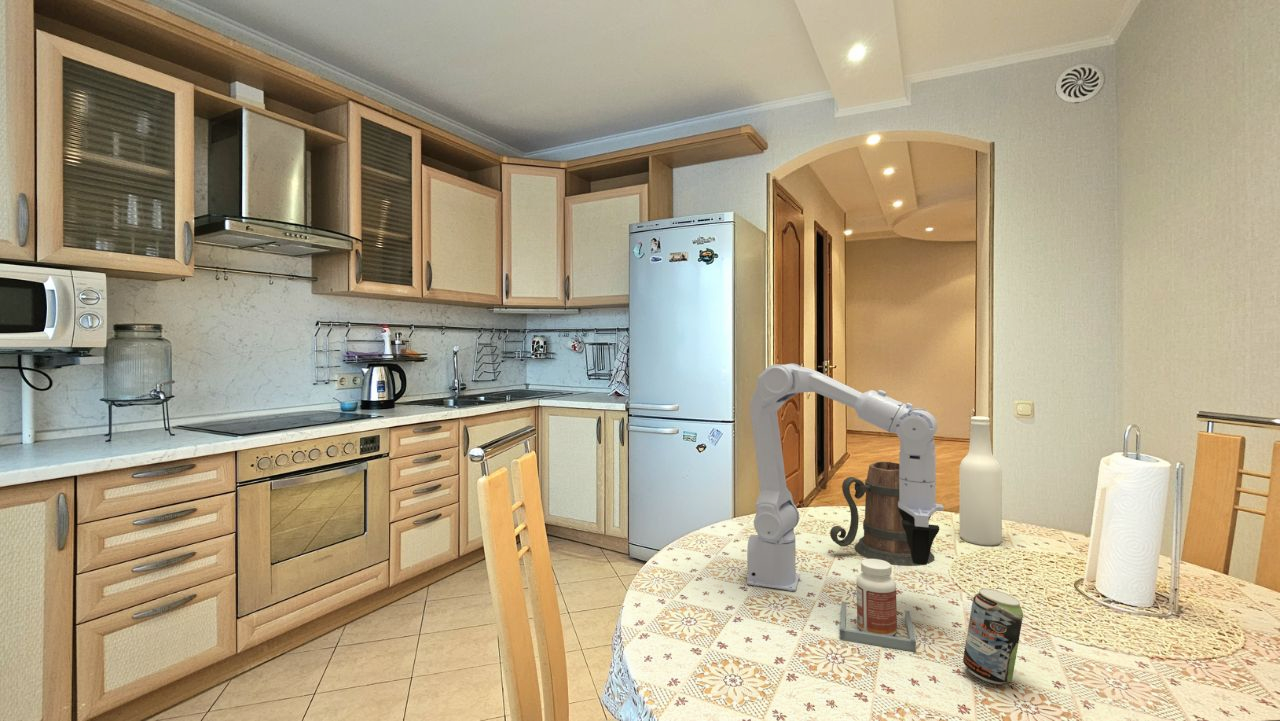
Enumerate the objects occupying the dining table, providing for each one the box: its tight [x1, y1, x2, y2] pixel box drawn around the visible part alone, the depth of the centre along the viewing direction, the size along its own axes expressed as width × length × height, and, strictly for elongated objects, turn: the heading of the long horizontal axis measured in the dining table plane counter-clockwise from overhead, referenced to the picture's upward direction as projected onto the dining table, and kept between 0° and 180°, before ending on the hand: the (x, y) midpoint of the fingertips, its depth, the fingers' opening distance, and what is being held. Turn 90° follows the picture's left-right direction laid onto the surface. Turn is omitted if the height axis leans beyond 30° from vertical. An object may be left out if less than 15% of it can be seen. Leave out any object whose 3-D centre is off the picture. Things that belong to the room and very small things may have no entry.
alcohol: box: [958, 415, 1003, 547], centre depth 135 cm, size 9×9×30 cm
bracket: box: [839, 600, 917, 653], centre depth 93 cm, size 11×11×2 cm
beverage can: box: [962, 587, 1024, 685], centre depth 79 cm, size 6×7×12 cm
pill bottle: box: [855, 558, 898, 637], centre depth 93 cm, size 6×6×11 cm
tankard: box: [829, 461, 936, 567], centre depth 127 cm, size 24×17×20 cm
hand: (917, 555), depth 98 cm, fingers open, 7 cm apart
